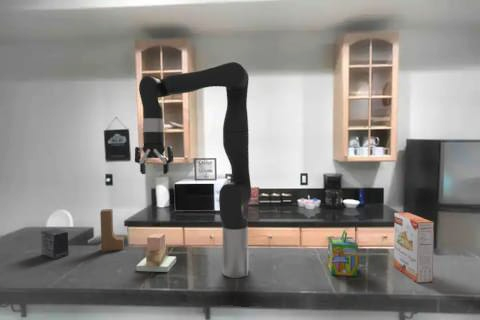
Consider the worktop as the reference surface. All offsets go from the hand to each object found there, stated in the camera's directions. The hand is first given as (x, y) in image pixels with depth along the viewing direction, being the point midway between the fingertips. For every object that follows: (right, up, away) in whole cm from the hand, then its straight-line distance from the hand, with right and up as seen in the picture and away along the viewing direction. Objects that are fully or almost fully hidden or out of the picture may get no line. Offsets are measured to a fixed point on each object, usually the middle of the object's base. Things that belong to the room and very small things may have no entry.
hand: (154, 174), depth 114 cm
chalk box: (+70, -36, -3) cm, 79 cm away
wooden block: (-25, -35, +22) cm, 48 cm away
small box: (-47, -36, +15) cm, 61 cm away
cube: (0, -29, +2) cm, 29 cm away
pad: (0, -36, +2) cm, 36 cm away
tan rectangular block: (0, -34, +2) cm, 34 cm away
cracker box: (+94, -36, -7) cm, 101 cm away
